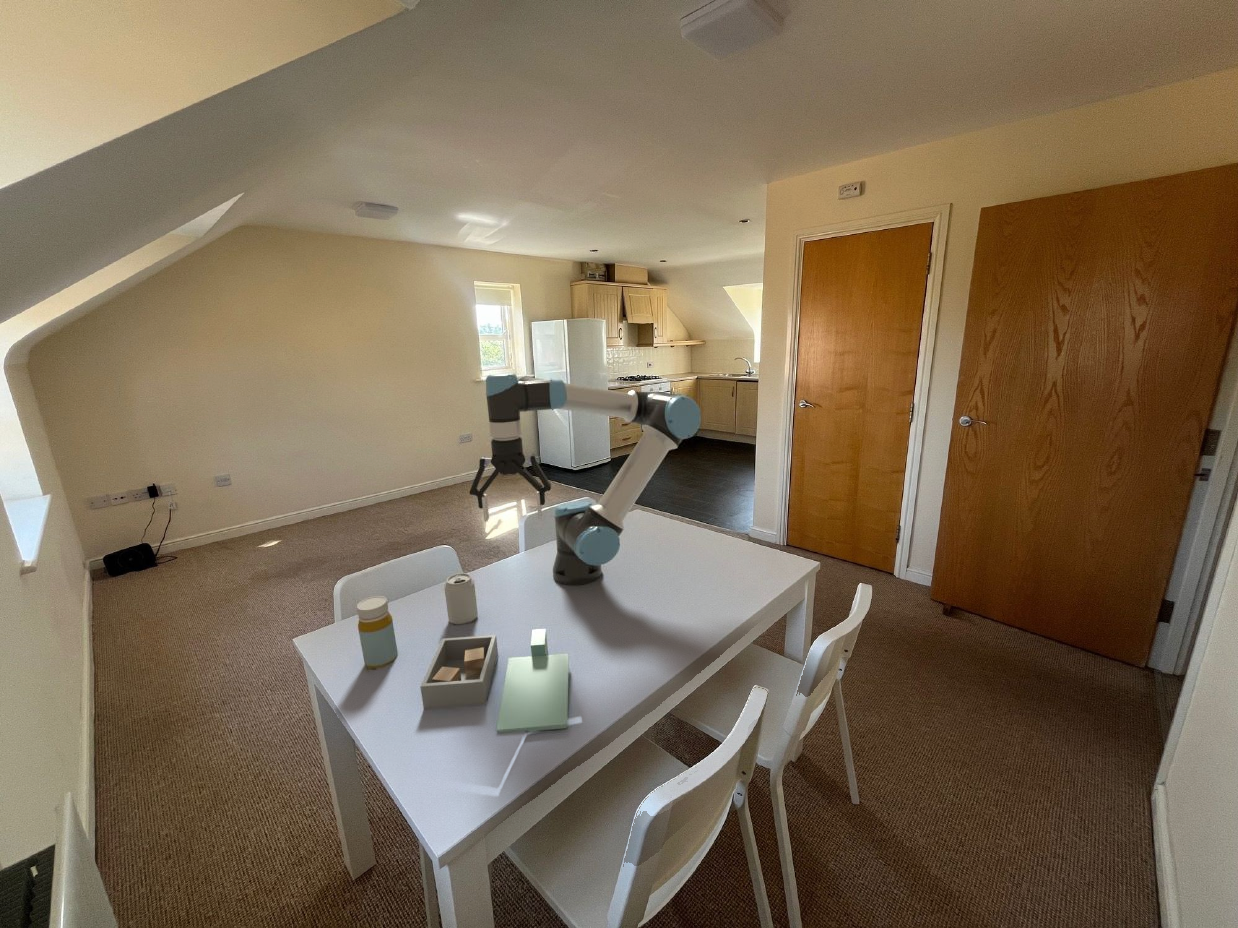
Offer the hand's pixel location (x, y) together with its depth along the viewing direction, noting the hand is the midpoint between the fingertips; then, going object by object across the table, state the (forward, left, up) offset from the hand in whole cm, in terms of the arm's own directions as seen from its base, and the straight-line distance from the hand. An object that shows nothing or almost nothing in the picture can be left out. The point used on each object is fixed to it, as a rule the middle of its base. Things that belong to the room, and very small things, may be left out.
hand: (513, 518), depth 127 cm
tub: (+9, +28, -27) cm, 40 cm away
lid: (-7, +32, -28) cm, 43 cm away
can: (+15, +2, -27) cm, 31 cm away
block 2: (+7, +25, -26) cm, 37 cm away
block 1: (+12, +31, -26) cm, 42 cm away
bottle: (+30, +18, -27) cm, 44 cm away
